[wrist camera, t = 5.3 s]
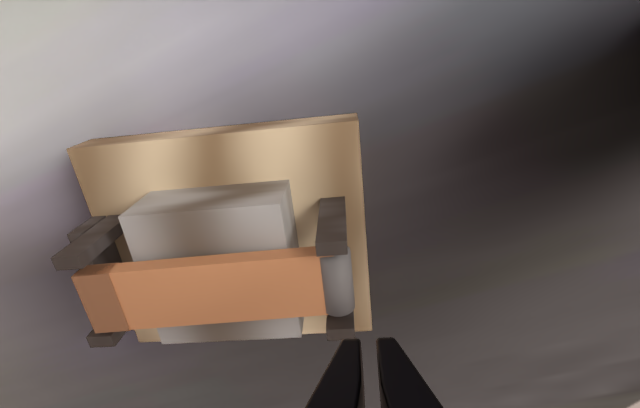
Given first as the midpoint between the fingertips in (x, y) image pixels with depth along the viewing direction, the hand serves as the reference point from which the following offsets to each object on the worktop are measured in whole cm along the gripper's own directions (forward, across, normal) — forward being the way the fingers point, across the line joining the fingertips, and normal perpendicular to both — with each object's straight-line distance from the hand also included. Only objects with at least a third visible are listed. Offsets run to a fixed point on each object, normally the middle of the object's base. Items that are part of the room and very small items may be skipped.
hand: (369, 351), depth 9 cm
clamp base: (+12, +7, +3) cm, 14 cm away
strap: (+7, +6, +3) cm, 10 cm away
